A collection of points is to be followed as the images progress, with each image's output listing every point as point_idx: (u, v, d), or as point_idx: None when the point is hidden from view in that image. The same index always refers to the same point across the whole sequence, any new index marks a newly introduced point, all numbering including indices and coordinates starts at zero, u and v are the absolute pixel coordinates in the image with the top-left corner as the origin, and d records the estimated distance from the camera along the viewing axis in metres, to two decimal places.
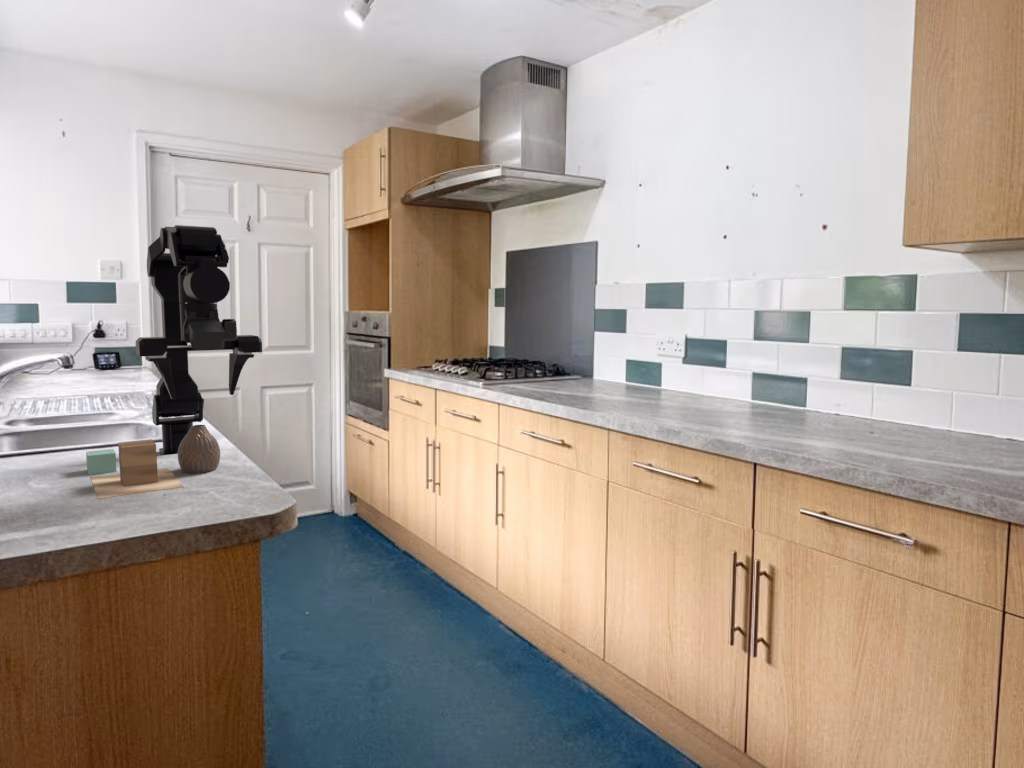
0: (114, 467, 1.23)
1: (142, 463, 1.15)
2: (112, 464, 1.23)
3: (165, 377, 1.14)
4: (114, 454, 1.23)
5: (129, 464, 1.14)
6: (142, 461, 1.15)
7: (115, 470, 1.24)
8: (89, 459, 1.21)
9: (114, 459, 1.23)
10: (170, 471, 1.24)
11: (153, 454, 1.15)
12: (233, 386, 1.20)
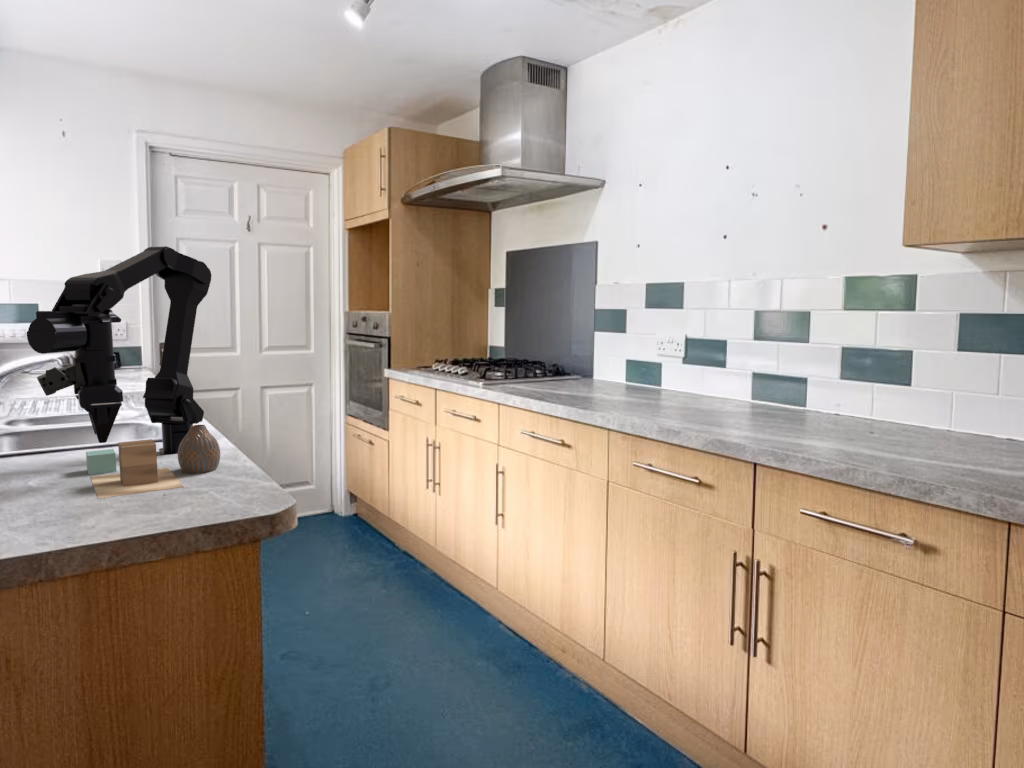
0: (114, 467, 1.23)
1: (142, 463, 1.15)
2: (112, 464, 1.23)
3: None
4: (114, 454, 1.23)
5: (129, 464, 1.14)
6: (142, 461, 1.15)
7: (115, 470, 1.24)
8: (89, 459, 1.21)
9: (114, 459, 1.23)
10: (170, 471, 1.24)
11: (153, 454, 1.15)
12: None
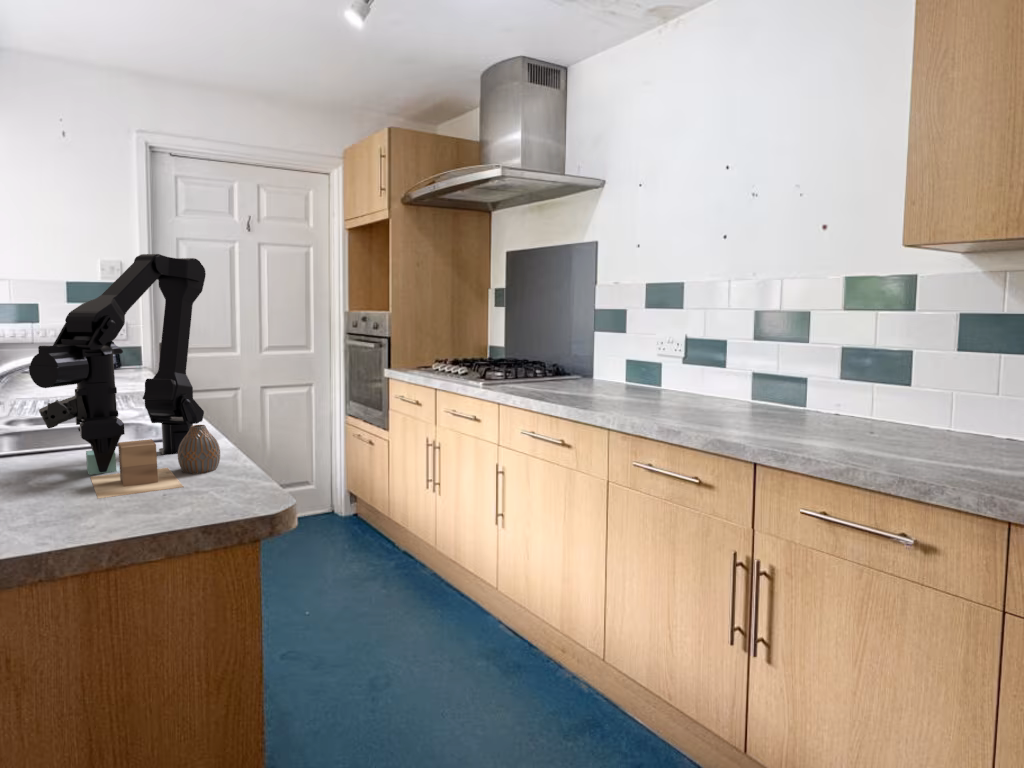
0: (114, 466, 1.23)
1: (142, 463, 1.15)
2: (112, 463, 1.23)
3: (91, 446, 1.26)
4: (114, 453, 1.23)
5: (129, 464, 1.14)
6: (142, 461, 1.15)
7: (115, 469, 1.24)
8: (89, 458, 1.21)
9: (114, 458, 1.23)
10: (170, 471, 1.24)
11: (153, 454, 1.15)
12: (97, 464, 1.22)
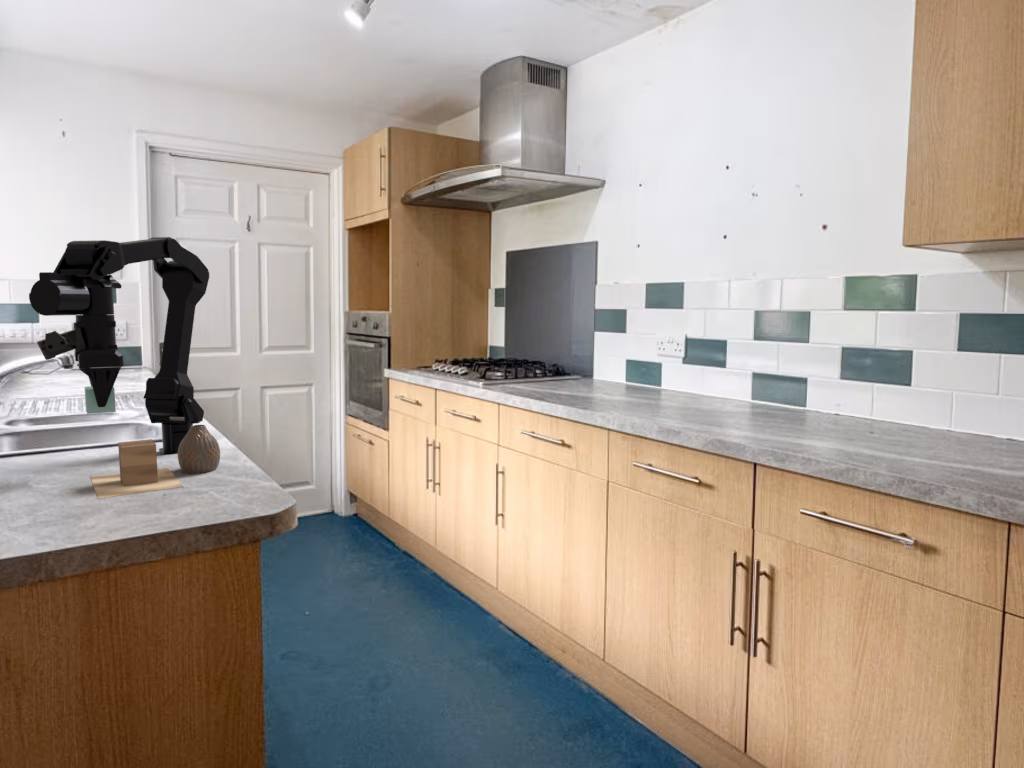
0: (113, 402, 1.21)
1: (142, 463, 1.15)
2: (111, 399, 1.21)
3: (90, 382, 1.24)
4: (113, 389, 1.21)
5: (129, 464, 1.14)
6: (142, 461, 1.15)
7: (114, 405, 1.21)
8: (87, 393, 1.19)
9: (113, 394, 1.21)
10: (170, 471, 1.24)
11: (153, 454, 1.15)
12: None
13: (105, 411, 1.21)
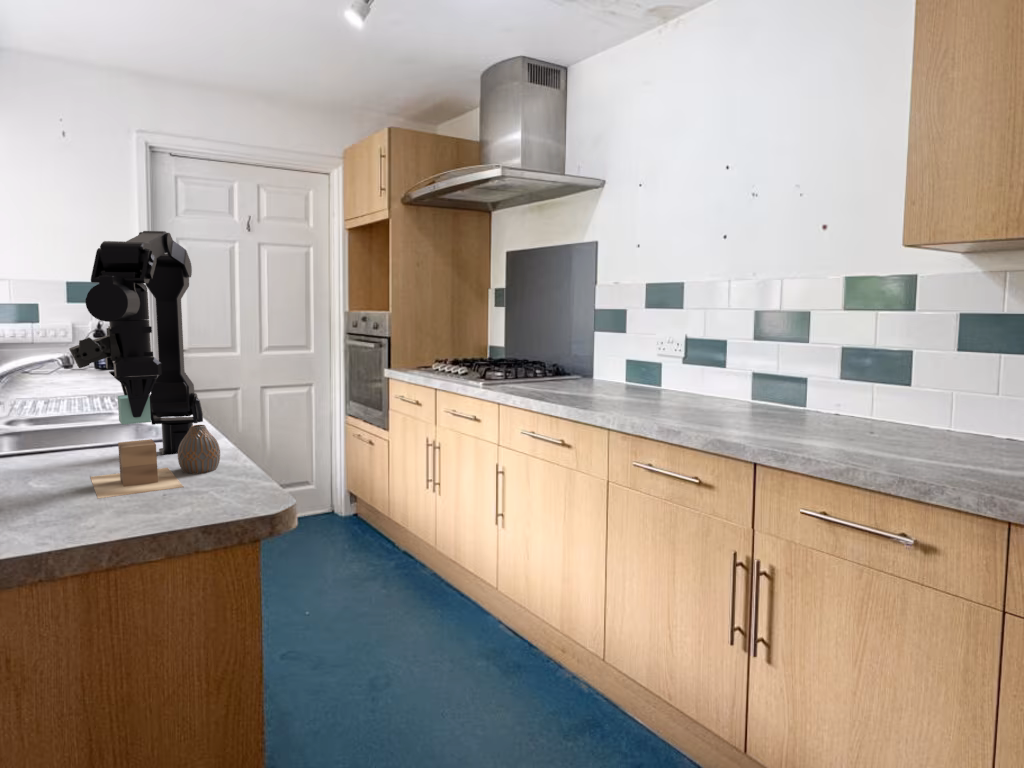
0: (148, 412, 1.15)
1: (142, 463, 1.15)
2: (146, 409, 1.15)
3: (123, 391, 1.17)
4: (148, 398, 1.15)
5: (129, 464, 1.14)
6: (142, 461, 1.15)
7: (149, 415, 1.15)
8: (122, 402, 1.13)
9: (148, 403, 1.15)
10: (170, 471, 1.24)
11: (153, 454, 1.15)
12: None
13: (140, 421, 1.14)
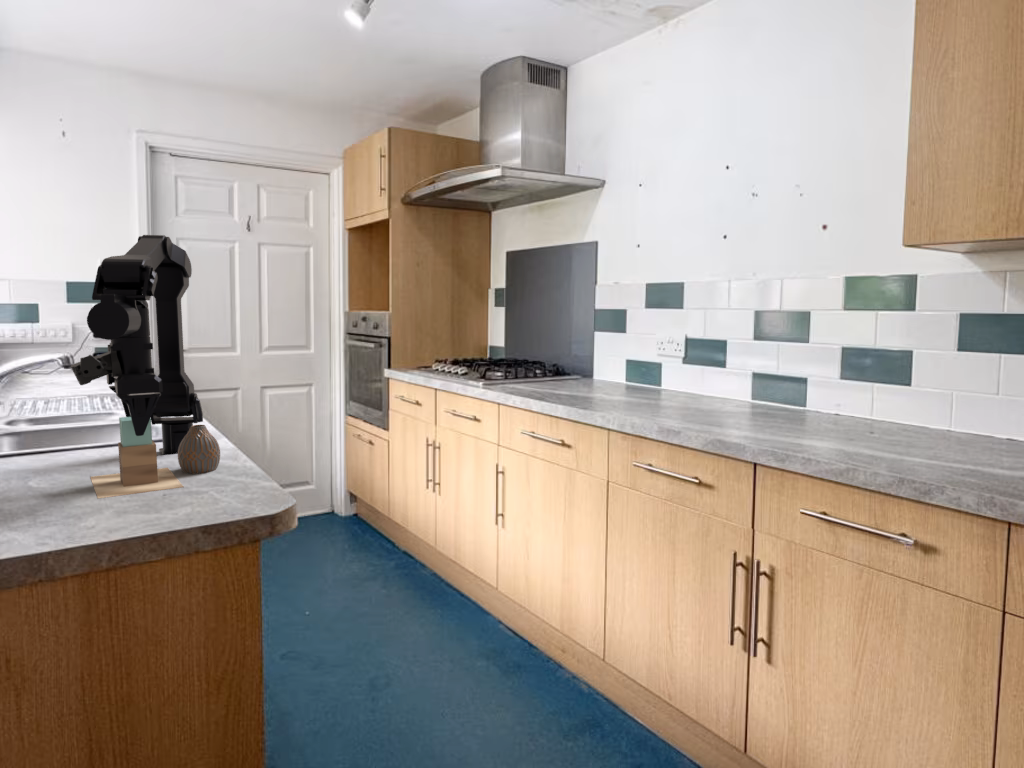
0: (149, 434, 1.15)
1: (142, 463, 1.15)
2: (147, 431, 1.15)
3: (123, 405, 1.19)
4: (149, 420, 1.15)
5: (129, 464, 1.14)
6: (142, 461, 1.15)
7: (150, 437, 1.15)
8: (123, 425, 1.13)
9: (149, 425, 1.15)
10: (170, 471, 1.24)
11: (153, 454, 1.15)
12: (133, 426, 1.12)
13: (141, 444, 1.15)
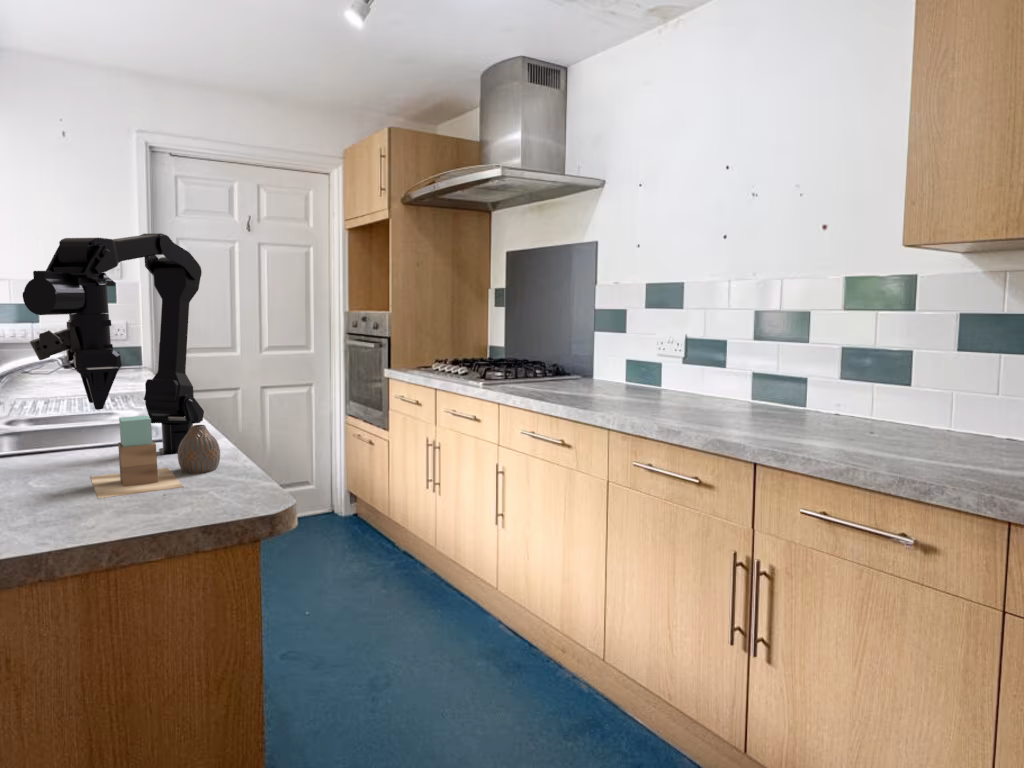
0: (149, 434, 1.15)
1: (142, 463, 1.15)
2: (147, 431, 1.15)
3: None
4: (149, 420, 1.15)
5: (129, 464, 1.14)
6: (142, 461, 1.15)
7: (150, 437, 1.15)
8: (123, 425, 1.13)
9: (149, 425, 1.15)
10: (170, 471, 1.24)
11: (153, 454, 1.15)
12: (92, 400, 1.15)
13: (141, 444, 1.15)
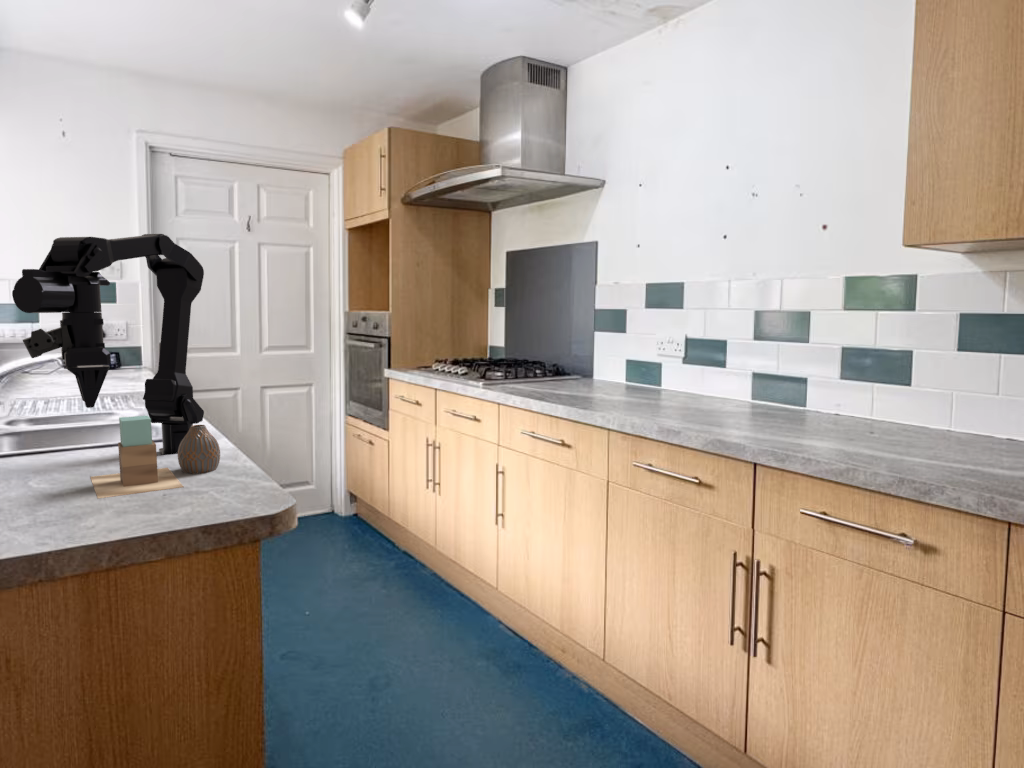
0: (149, 434, 1.15)
1: (142, 463, 1.15)
2: (147, 431, 1.15)
3: None
4: (149, 420, 1.15)
5: (129, 464, 1.14)
6: (142, 461, 1.15)
7: (150, 437, 1.15)
8: (123, 425, 1.13)
9: (149, 425, 1.15)
10: (170, 471, 1.24)
11: (153, 454, 1.15)
12: (83, 398, 1.16)
13: (141, 444, 1.15)
